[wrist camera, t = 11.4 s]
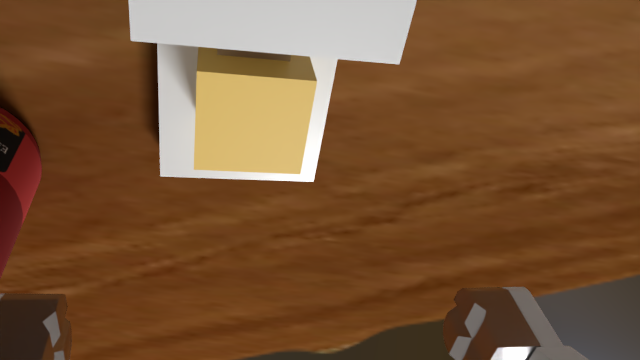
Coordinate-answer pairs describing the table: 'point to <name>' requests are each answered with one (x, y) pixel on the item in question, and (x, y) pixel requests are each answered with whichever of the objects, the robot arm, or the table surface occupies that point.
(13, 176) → the canned food
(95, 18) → the table surface
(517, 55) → the table surface
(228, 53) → the stick
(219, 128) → the block
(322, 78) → the tunnel deck
